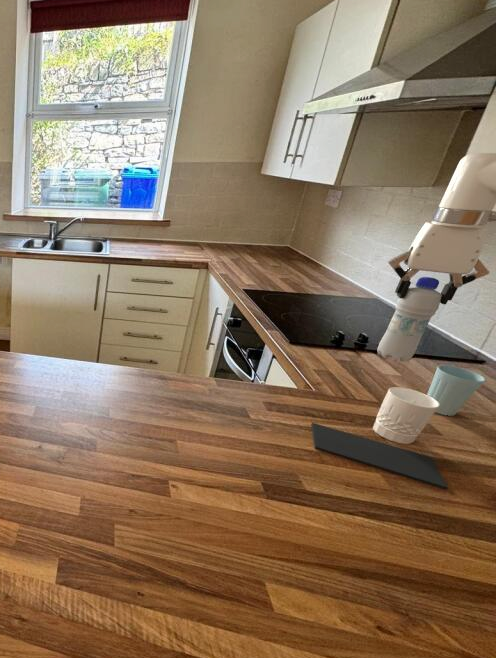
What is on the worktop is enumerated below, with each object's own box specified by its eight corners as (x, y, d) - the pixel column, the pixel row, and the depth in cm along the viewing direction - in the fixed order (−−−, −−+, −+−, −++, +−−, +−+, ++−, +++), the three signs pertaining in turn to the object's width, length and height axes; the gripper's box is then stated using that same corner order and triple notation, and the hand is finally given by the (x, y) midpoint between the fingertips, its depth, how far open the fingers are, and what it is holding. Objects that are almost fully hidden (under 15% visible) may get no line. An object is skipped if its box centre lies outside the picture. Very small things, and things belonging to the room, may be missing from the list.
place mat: (431, 458, 83) (432, 457, 82) (447, 489, 75) (448, 487, 75) (311, 424, 92) (312, 422, 92) (314, 448, 85) (315, 446, 85)
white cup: (370, 419, 95) (389, 383, 90) (417, 435, 90) (439, 397, 85) (367, 433, 90) (387, 396, 85) (416, 451, 84) (440, 412, 80)
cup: (471, 421, 95) (495, 383, 90) (432, 416, 96) (454, 378, 92) (445, 403, 101) (467, 367, 97) (409, 399, 103) (429, 363, 99)
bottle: (372, 349, 101) (406, 271, 93) (408, 356, 98) (447, 276, 90) (375, 358, 96) (412, 278, 88) (414, 366, 93) (456, 283, 85)
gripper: (513, 219, 82) (469, 302, 89) (399, 212, 91) (367, 288, 98) (531, 224, 76) (482, 312, 84) (407, 216, 85) (373, 296, 92)
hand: (420, 298), depth 91 cm, fingers closed on bottle, 6 cm apart
